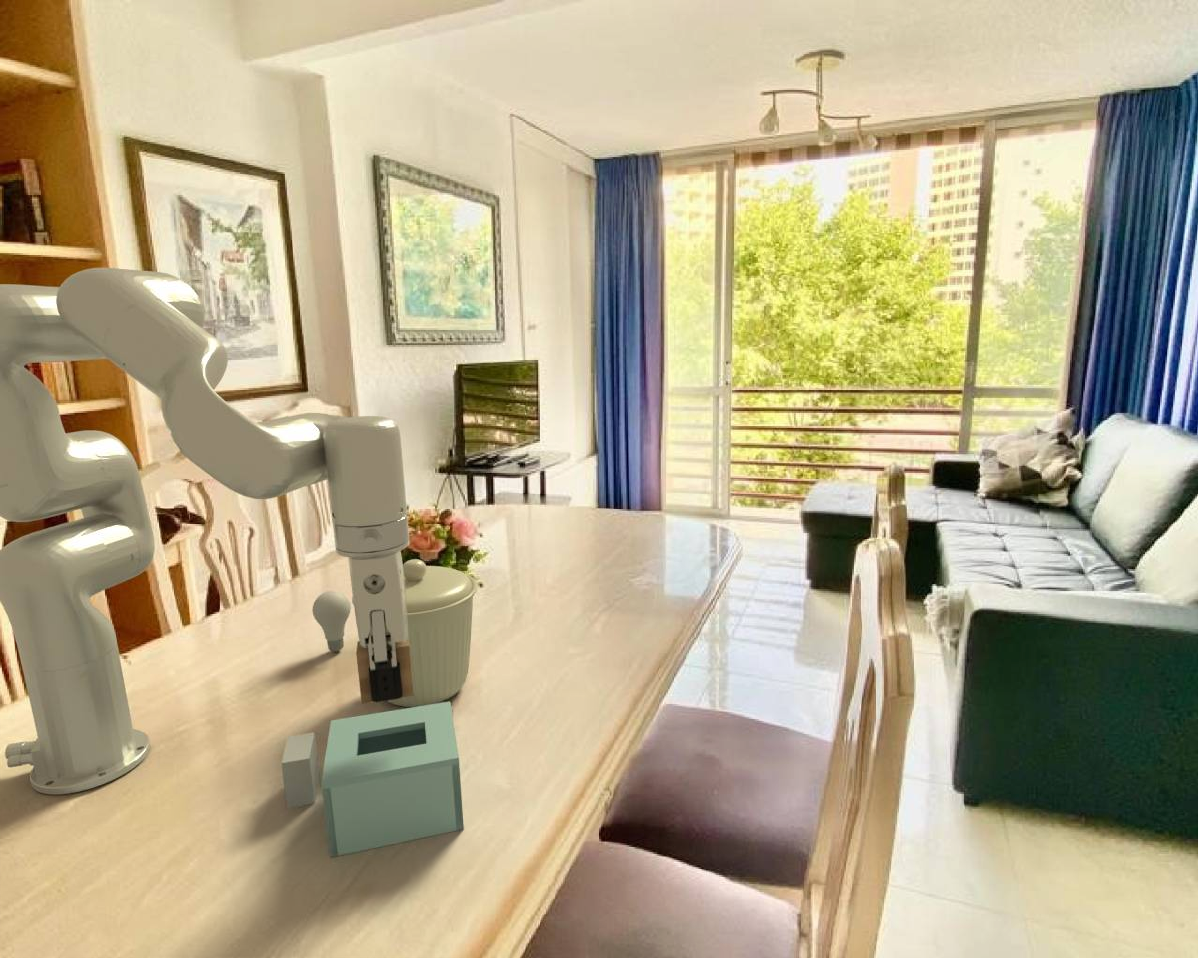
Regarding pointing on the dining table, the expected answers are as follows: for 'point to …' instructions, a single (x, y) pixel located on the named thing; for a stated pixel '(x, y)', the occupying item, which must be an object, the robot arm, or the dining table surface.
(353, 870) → the dining table surface
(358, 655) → the wooden block
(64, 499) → the robot arm
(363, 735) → the coin box
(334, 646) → the lightbulb
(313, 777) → the gray rectangular block
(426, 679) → the canister
